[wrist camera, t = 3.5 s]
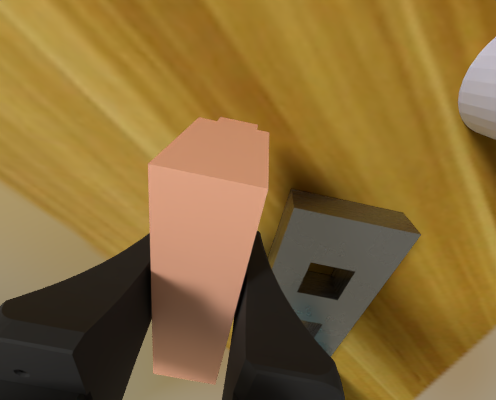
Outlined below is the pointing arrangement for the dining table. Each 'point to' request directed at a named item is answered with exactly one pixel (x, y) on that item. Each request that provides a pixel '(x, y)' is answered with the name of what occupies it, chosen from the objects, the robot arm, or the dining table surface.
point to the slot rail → (336, 259)
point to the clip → (202, 240)
